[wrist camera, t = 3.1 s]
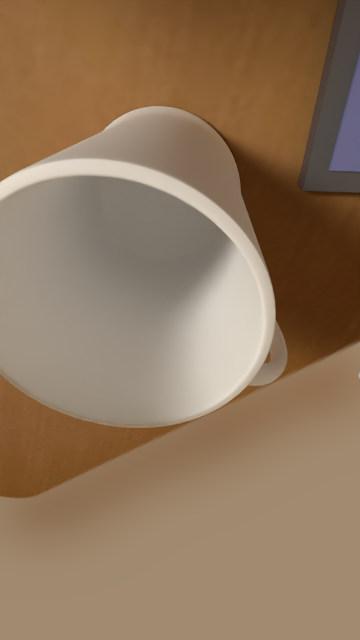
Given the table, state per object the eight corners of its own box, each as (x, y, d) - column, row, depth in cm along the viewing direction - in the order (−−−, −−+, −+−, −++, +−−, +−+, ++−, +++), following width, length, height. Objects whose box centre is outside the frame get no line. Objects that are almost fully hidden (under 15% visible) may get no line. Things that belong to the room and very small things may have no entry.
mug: (308, 236, 19) (421, 400, 9) (202, 320, 23) (202, 497, 13) (153, 58, 14) (50, 4, 5) (55, 200, 18) (-110, 330, 9)
